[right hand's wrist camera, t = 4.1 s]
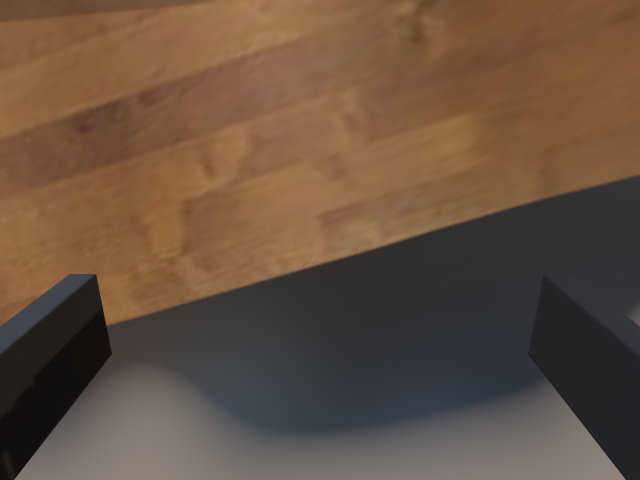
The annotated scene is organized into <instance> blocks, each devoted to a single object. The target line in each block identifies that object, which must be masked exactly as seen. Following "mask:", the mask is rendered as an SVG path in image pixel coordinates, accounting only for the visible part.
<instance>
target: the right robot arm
mask: <svg viewBox="0 0 640 480" xmlns="http://www.w3.org/2000/svg"><path fill="white" fill-rule="evenodd" d="M111 354H112V352H111V347H110V342H109V337H108V332H107V327H106V322H105V317H104V312H103V307H102V302H101V297H100V292H99V287H98V282H97V277H96V274H69V275H68V276H67V277H65V278H64V279H63V280H61V281H60V282H59V283H57V284H56V285H55V286H53V287H52V288H51V289H49V290H48V291H47V292H45V293H44V294H43V295H42V296H40V297H39V298H38V299H36V300H35V301H34V302H32V303H31V304H30V305H28V306H27V307H26V308H24V309H23V310H22V311H20V312H19V313H18V314H16V315H15V316H14V317H12V318H11V319H10V320H8V321H7V322H6V323H4V324H3V325H2V326H0V480H14V479H15V478H16V477H17V475H18V474H19V473H20V471H21V470H22V469H23V468H24V466H25V465H26V464H27V462H28V461H29V460H30V459H31V457H32V456H33V455H34V453H35V452H36V451H37V450H38V448H39V447H40V446H41V444H42V443H43V442H44V441H45V439H46V438H47V437H48V435H49V434H50V433H51V432H52V430H53V429H54V428H55V426H56V425H57V424H58V423H59V421H60V420H61V419H62V417H63V416H64V415H65V414H66V412H67V411H68V410H69V408H70V407H71V406H72V405H73V403H74V402H75V401H76V399H77V398H78V397H79V396H80V394H81V393H82V392H83V390H84V389H85V388H86V387H87V385H88V384H89V383H90V381H91V380H92V379H93V378H94V376H95V375H96V374H97V372H98V371H99V370H100V369H101V367H102V366H103V365H104V363H105V362H106V361H107V360H108V358H109V357H110V356H111ZM528 354H529V356H530V357H531V358H532V360H533V361H534V362H535V363H536V365H537V366H538V367H539V369H540V370H541V371H542V372H543V374H544V375H545V376H546V378H547V379H548V380H549V381H550V383H551V384H552V385H553V386H554V388H555V389H556V390H557V392H558V393H559V394H560V396H561V397H562V398H563V399H564V401H565V402H566V403H567V405H568V406H569V407H570V408H571V410H572V411H573V412H574V414H575V415H576V416H577V417H578V419H579V420H580V421H581V423H582V424H583V425H584V426H585V428H586V429H587V430H588V432H589V433H590V434H591V435H592V437H593V438H594V439H595V441H596V442H597V443H598V444H599V446H600V447H601V448H602V450H603V451H604V452H605V453H606V455H607V456H608V457H609V459H610V460H611V461H612V462H613V464H614V465H615V466H616V468H617V469H618V470H619V471H620V473H621V474H622V475H623V477H624V478H625V479H626V480H640V326H638V325H637V324H636V323H634V322H633V321H632V320H630V319H629V318H628V317H626V316H625V315H624V314H622V313H621V312H620V311H618V310H617V309H616V308H614V307H613V306H612V305H610V304H609V303H608V302H606V301H605V300H604V299H602V298H601V297H600V296H598V295H597V294H596V293H595V292H593V291H592V290H591V289H589V288H588V287H586V286H585V285H584V284H583V283H581V282H580V281H578V280H577V279H576V278H575V277H573V276H572V275H571V274H544V277H543V282H542V287H541V292H540V297H539V302H538V307H537V312H536V317H535V322H534V327H533V332H532V337H531V342H530V347H529V352H528Z"/></svg>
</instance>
